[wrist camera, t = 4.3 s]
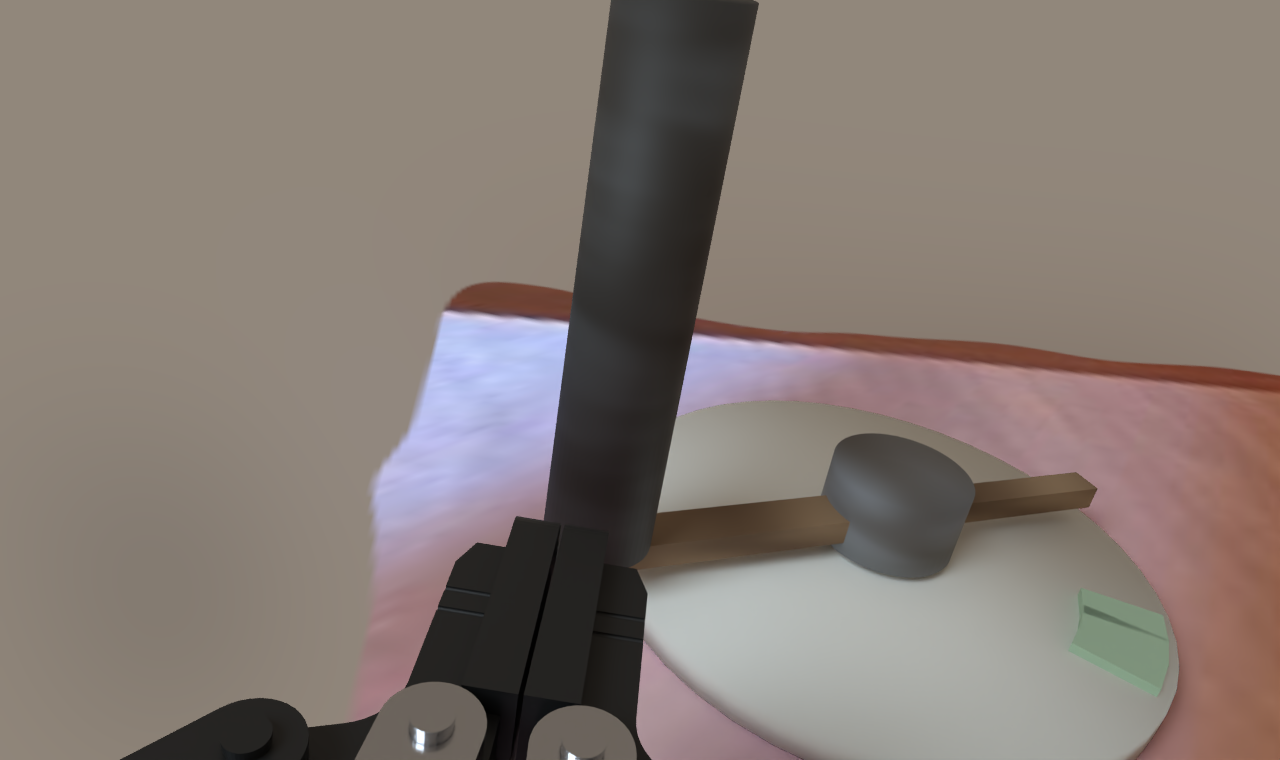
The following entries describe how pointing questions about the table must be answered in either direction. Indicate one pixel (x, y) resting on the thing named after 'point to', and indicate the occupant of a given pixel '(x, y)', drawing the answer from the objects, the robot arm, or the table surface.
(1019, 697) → the plate
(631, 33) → the dial
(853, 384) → the table surface
